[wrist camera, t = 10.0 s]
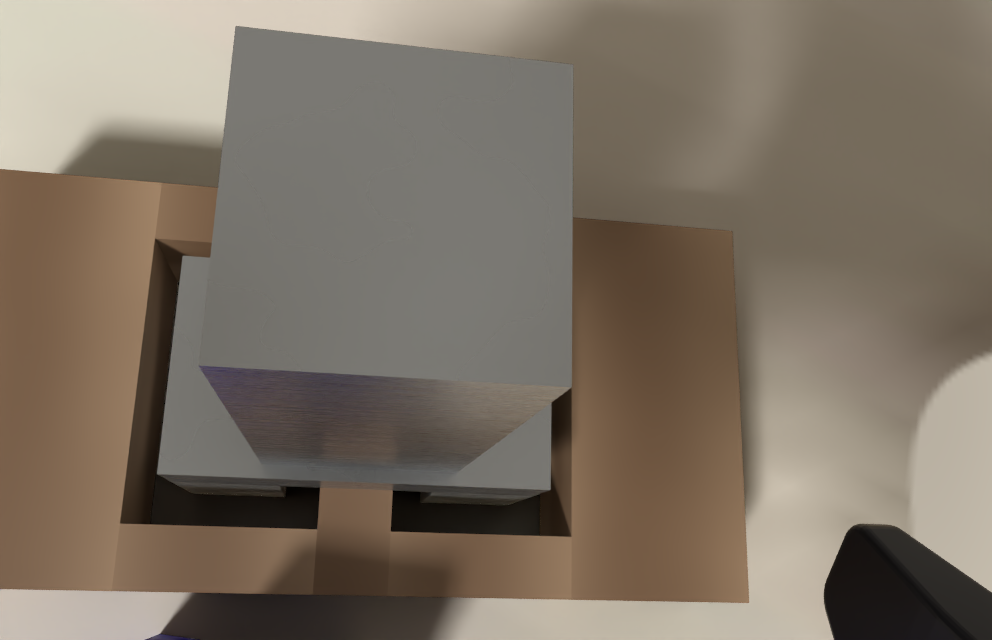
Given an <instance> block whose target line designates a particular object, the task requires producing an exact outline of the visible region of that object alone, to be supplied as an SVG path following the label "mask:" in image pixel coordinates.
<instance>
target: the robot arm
mask: <svg viewBox="0 0 992 640" xmlns="http://www.w3.org/2000/svg"><path fill="white" fill-rule="evenodd" d="M824 604H825V610H826V613H827V617H828V620H829V624H830V628H831V631H832V635H833V638H834V640H992V592H990V591H989V590H987V589H986V588H984V587H983V586H981V585H980V584H978V583H977V582H976V581H974V580H973V579H971V578H970V577H969V576H967V575H965V574H964V573H963V572H961V571H960V570H958V569H957V568H956V567H954V566H953V565H951V564H950V563H948V562H947V561H945V560H944V559H942V558H941V557H940V556H938V555H937V554H935V553H934V552H933V551H931V550H930V549H928V548H927V547H925V546H924V545H923V544H921V543H920V542H918V541H917V540H915V539H914V538H912V537H911V536H910V535H908V534H907V533H905V532H904V531H902V530H901V529H899V528H898V527H895V526H892V525H882V524H857V525H854V526H853V527H851V528H850V529H849V530H848V532H847V533H846V535H845V538H844V540H843V542H842V545H841V547H840V549H839V552H838V554H837V556H836V559H835V561H834V564H833V566H832V568H831V571H830V573H829V575H828V578H827V580H826V583H825V588H824Z"/></svg>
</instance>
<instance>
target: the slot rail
mask: <svg viewBox="0 0 992 640" xmlns="http://www.w3.org/2000/svg"><path fill="white" fill-rule="evenodd" d="M217 191H218V188H217V187H205V186H194V185H182V184H170V183H158V182H146V181H134V180H123V179H111V178H99V177H87V176H75V175H64V174H52V173H40V172H28V171H16V170H5V169H0V589H33V590H86V591H140V592H194V593H247V594H301V595H355V596H408V597H462V598H515V599H569V600H623V601H676V602H730V603H749V589H748V567H747V545H746V523H745V501H744V479H743V457H742V435H741V413H740V391H739V369H738V347H737V325H736V303H735V280H734V258H733V236H732V231H725V230H713V229H701V228H690V227H678V226H666V225H654V224H642V223H631V222H619V221H607V220H595V219H583V218H573V230H572V388H570V389H569V390H568V391H566V392H565V393H564V394H562V395H561V396H560V397H558V398H557V399H556V400H554V401H553V402H551V490H549V491H547V492H544V493H541V494H540V536H525V535H491V534H457V533H423V532H391V516H392V496H393V490H369V489H344V488H320V497H319V512H318V526H317V529H287V528H253V527H219V526H185V525H152V524H150V519H151V511H152V502H153V493H154V484H155V476H156V467H157V458H158V450H159V441H160V432H161V424H162V415H163V406H164V397H165V389H166V380H167V371H168V363H169V354H170V345H171V336H172V328H173V319H174V310H175V302H176V293H177V284H178V282H180V274H181V266H182V257H183V256H194V257H207V258H210V255H211V246H212V237H213V228H214V218H215V209H216V200H217Z"/></svg>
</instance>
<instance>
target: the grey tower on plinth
mask: <svg viewBox="0 0 992 640" xmlns="http://www.w3.org/2000/svg"><path fill="white" fill-rule="evenodd" d="M572 230H573V64H565V63H556V62H547V61H539V60H530V59H521V58H512V57H504V56H495V55H486V54H477V53H469V52H460V51H451V50H442V49H433V48H425V47H416V46H407V45H398V44H390V43H381V42H372V41H363V40H355V39H346V38H337V37H328V36H320V35H311V34H302V33H293V32H284V31H276V30H267V29H258V28H249V27H241V26H236V27H235V36H234V45H233V55H232V64H231V73H230V82H229V91H228V100H227V109H226V118H225V127H224V137H223V146H222V155H221V164H220V173H219V182H218V191H217V200H216V209H215V218H214V228H213V237H212V246H211V255H210V258H207V257H194V256H183V257H182V266H181V274H180V283H179V291H178V300H177V308H176V317H175V325H174V334H173V342H172V351H171V359H170V367H169V376H168V384H167V393H166V401H165V410H164V418H163V427H162V435H161V444H160V452H159V461H158V469H157V474H158V475H160V476H161V477H163V478H165V479H167V480H169V481H170V482H172V483H174V484H176V485H178V486H180V487H181V488H183V489H185V490H187V491H189V492H191V493H192V494H215V495H242V496H268V497H286V488H287V486H294V487H319V488H344V489H369V490H395V491H420V492H421V497H420V502H427V503H453V504H480V505H506V506H507V505H510V504H512V503H515V502H518V501H521V500H524V499H527V498H530V497H532V496H535V495H538V494H541V493H544V492H547V491H549V490H551V402H553V401H554V400H556V399H557V398H558V397H560V396H561V395H562V394H564V393H565V392H566V391H568V390H569V389H570V388H572Z"/></svg>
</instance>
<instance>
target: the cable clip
mask: <svg viewBox="0 0 992 640" xmlns="http://www.w3.org/2000/svg"><path fill="white" fill-rule="evenodd" d="M146 640H198V639H191V638H184V637H177V636H170V635H163V634H159V635H156V636H154V637H151V638H148V639H146Z"/></svg>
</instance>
